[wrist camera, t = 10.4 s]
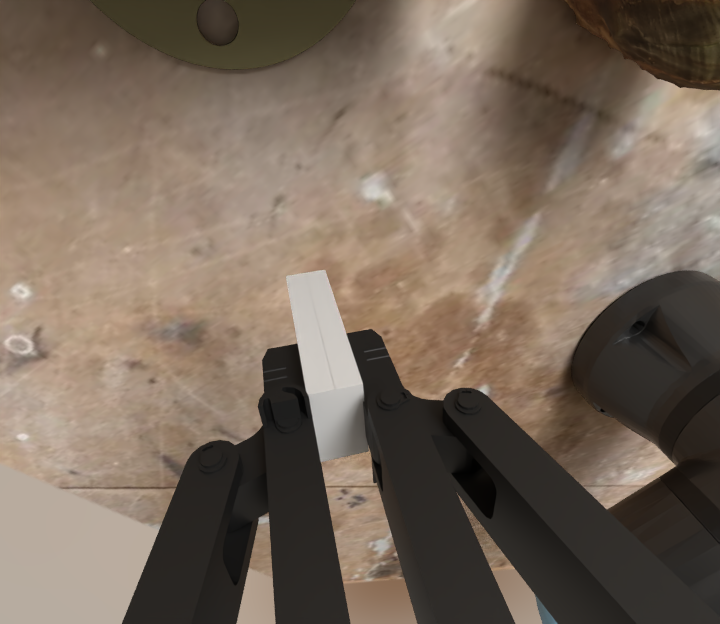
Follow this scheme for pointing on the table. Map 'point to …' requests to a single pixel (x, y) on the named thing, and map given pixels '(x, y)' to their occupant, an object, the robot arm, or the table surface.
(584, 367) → the robot arm
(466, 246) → the table surface
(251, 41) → the flange
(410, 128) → the table surface
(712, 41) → the green ball cactus
